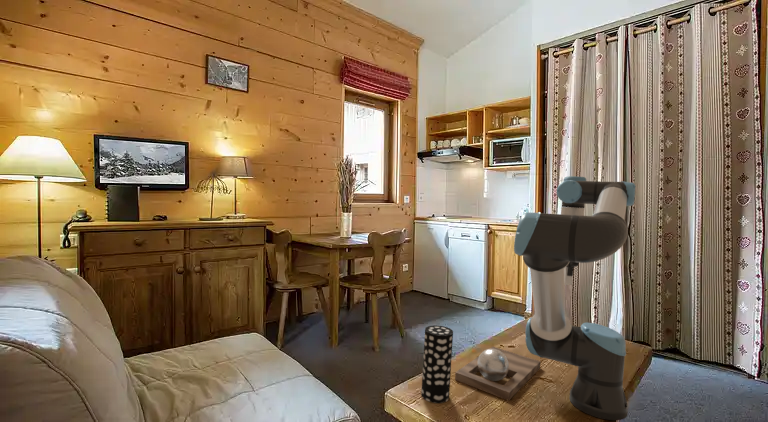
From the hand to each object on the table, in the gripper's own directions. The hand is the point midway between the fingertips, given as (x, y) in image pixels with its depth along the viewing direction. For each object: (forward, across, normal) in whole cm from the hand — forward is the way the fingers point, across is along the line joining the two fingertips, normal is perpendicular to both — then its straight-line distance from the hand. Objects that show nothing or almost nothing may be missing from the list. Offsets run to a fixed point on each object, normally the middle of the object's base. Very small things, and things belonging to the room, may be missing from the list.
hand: (567, 284), depth 138 cm
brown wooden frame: (+30, -6, +26) cm, 40 cm away
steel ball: (+25, -10, +30) cm, 41 cm away
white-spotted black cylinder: (+31, -20, +52) cm, 64 cm away
